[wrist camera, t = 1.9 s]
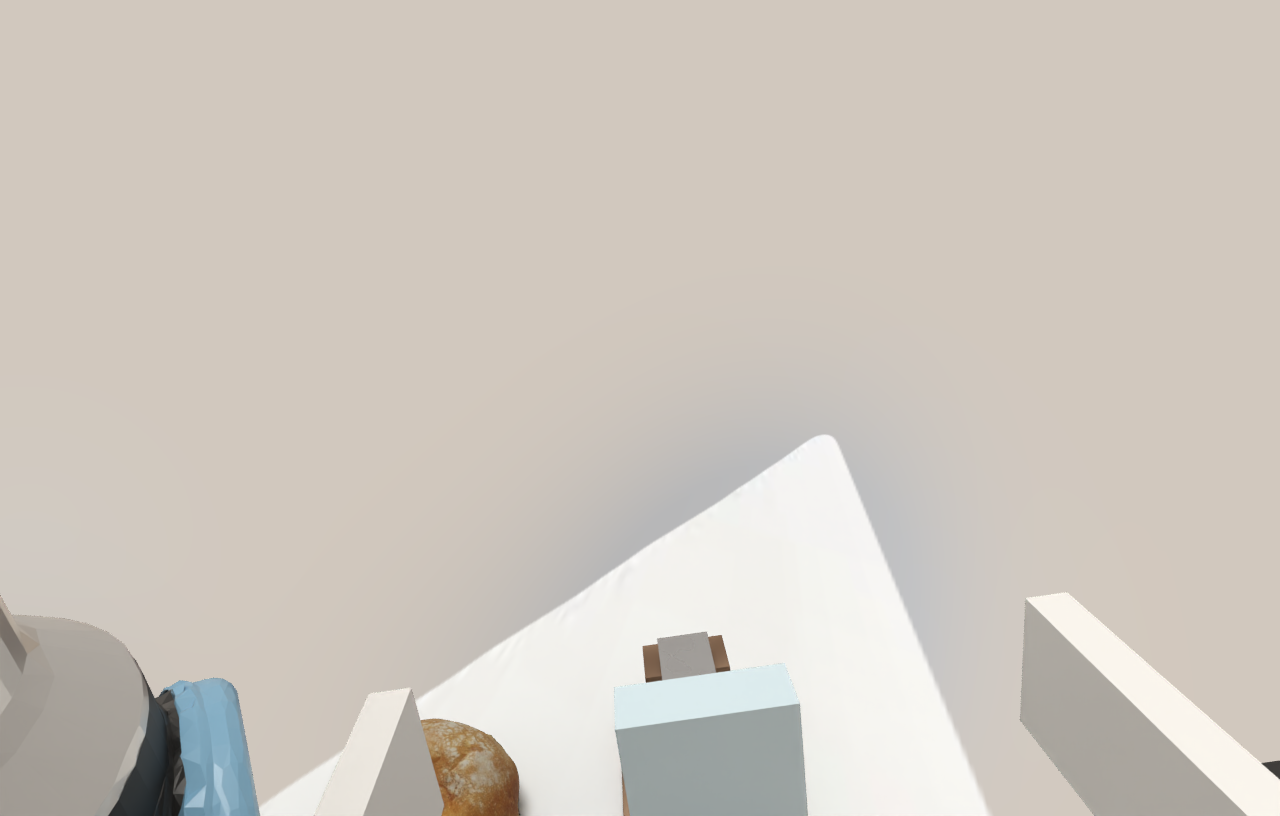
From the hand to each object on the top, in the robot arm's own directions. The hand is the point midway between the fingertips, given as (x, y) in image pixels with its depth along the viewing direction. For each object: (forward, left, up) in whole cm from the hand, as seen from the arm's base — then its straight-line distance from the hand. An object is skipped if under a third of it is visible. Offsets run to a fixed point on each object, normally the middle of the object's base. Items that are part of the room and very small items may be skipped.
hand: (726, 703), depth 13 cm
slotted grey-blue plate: (-4, +8, -22) cm, 24 cm away
